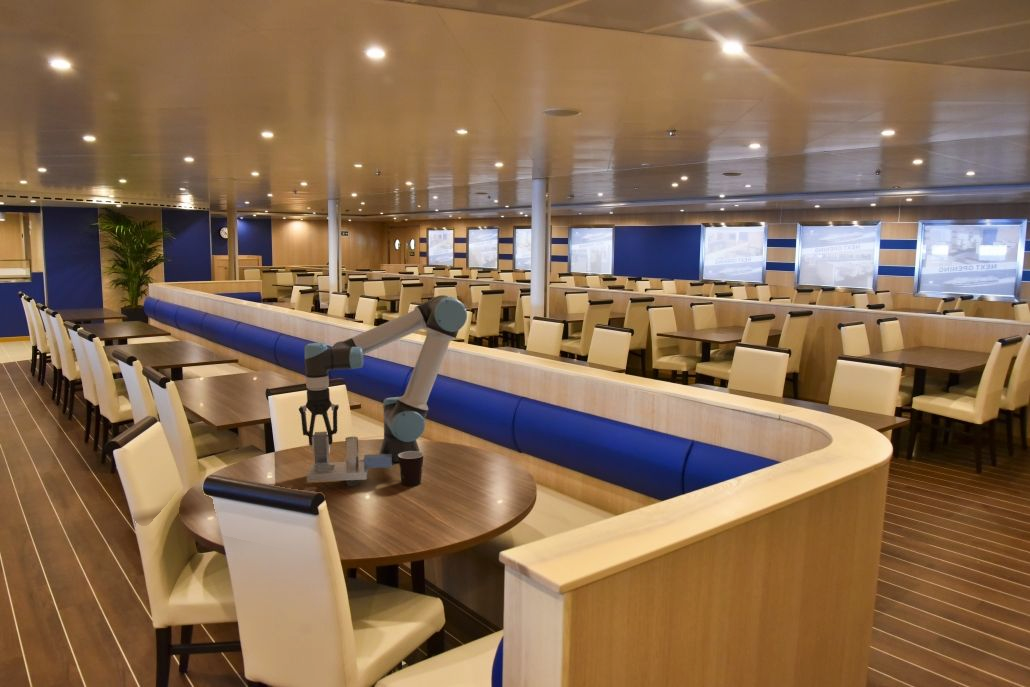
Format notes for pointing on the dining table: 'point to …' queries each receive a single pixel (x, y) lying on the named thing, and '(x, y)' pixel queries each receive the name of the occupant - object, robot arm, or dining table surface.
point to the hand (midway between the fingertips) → (321, 453)
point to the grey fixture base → (348, 466)
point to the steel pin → (320, 447)
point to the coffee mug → (411, 467)
